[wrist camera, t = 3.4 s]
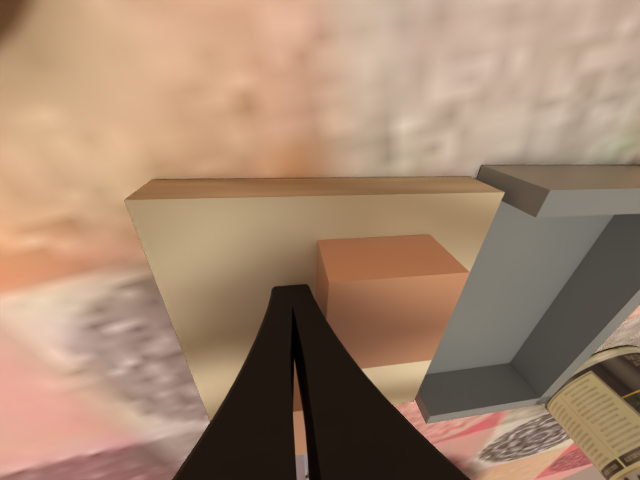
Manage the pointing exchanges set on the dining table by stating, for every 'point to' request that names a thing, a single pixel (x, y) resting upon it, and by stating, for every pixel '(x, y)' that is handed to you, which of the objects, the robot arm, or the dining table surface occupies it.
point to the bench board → (284, 253)
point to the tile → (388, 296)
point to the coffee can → (604, 411)
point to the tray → (538, 288)
